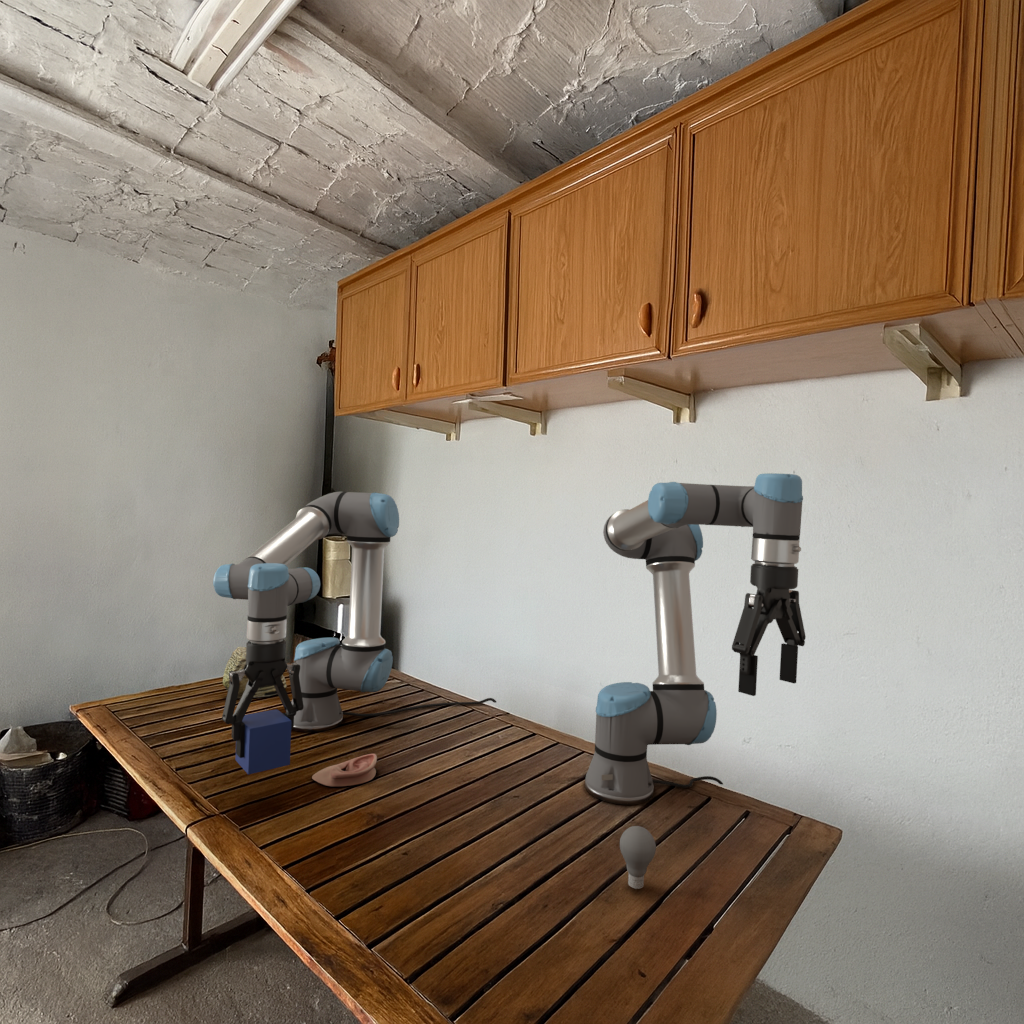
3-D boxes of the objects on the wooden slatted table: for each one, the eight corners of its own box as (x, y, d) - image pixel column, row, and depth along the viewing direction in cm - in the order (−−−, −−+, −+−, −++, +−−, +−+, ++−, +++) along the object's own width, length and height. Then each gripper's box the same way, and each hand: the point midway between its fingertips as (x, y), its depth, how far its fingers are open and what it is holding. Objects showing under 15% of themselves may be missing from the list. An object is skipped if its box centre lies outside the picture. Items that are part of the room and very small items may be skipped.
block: (235, 760, 130) (236, 716, 130) (275, 751, 135) (277, 709, 135) (248, 774, 124) (249, 728, 123) (290, 764, 129) (291, 720, 129)
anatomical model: (305, 765, 139) (330, 745, 150) (304, 783, 139) (330, 762, 151) (361, 773, 137) (383, 752, 148) (360, 791, 137) (382, 769, 148)
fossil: (218, 695, 195) (220, 647, 195) (278, 685, 208) (279, 640, 207) (228, 703, 189) (230, 653, 188) (289, 692, 201) (290, 645, 201)
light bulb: (613, 876, 109) (616, 819, 109) (647, 876, 110) (650, 819, 110) (622, 898, 103) (625, 837, 103) (658, 897, 104) (661, 837, 104)
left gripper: (216, 650, 119) (212, 769, 120) (323, 637, 133) (319, 745, 133) (205, 642, 125) (202, 755, 126) (309, 631, 138) (305, 733, 139)
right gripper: (756, 569, 97) (749, 705, 98) (829, 564, 113) (823, 681, 114) (713, 563, 103) (707, 693, 104) (789, 559, 119) (783, 671, 120)
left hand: (262, 750), depth 129 cm, fingers closed on block, 8 cm apart
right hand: (768, 687), depth 109 cm, fingers open, 13 cm apart
